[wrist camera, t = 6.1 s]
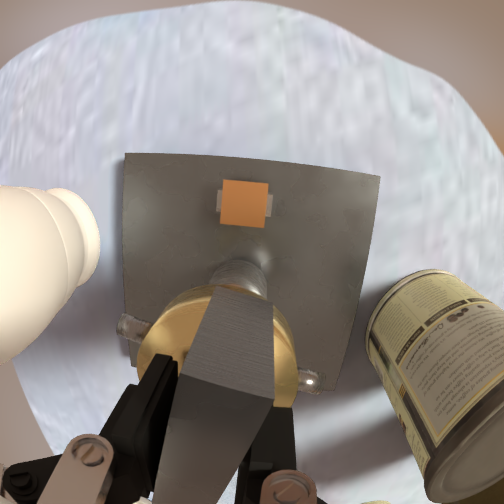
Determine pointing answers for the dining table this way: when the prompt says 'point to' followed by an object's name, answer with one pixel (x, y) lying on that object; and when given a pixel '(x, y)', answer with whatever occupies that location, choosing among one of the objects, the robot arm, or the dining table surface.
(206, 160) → the lever latch plate
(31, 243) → the jar
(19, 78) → the dining table surface
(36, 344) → the dining table surface
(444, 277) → the coffee can
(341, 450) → the dining table surface
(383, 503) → the reusable coffee cup
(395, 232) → the dining table surface
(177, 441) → the latch lever
